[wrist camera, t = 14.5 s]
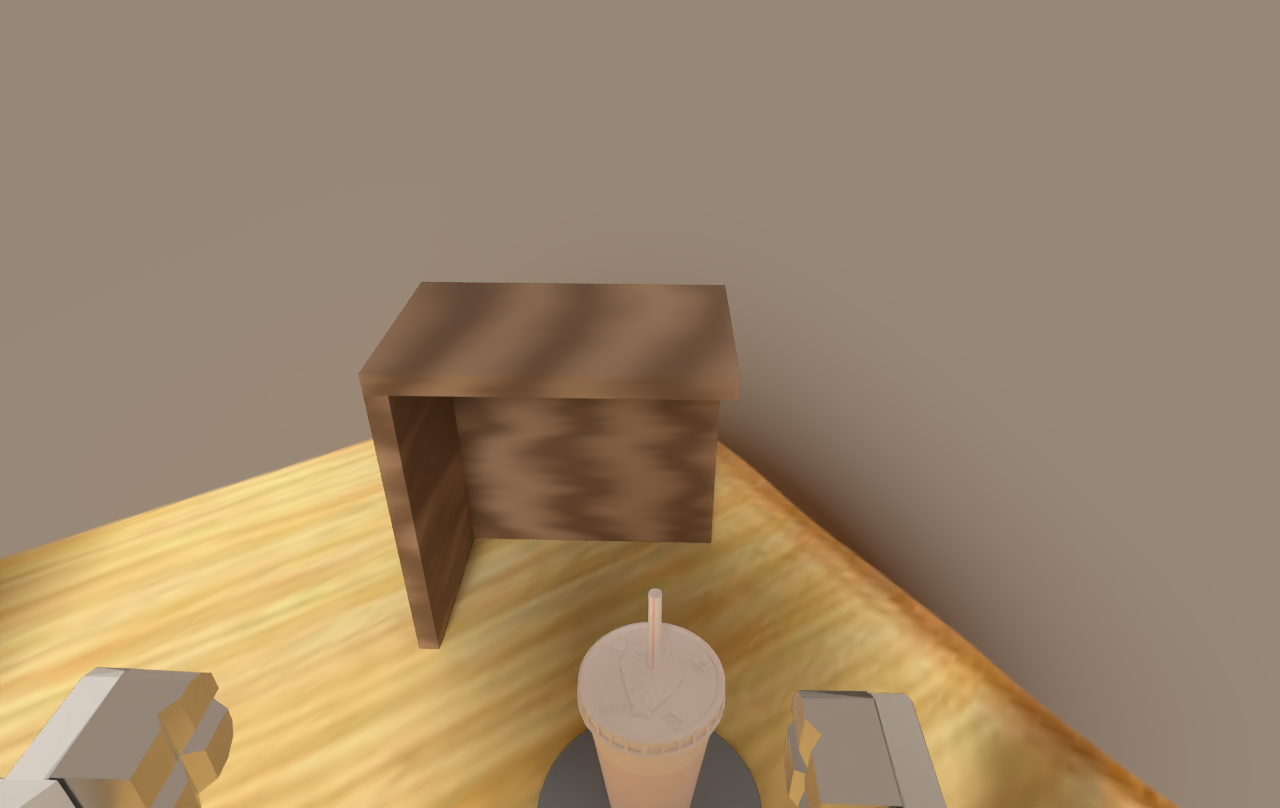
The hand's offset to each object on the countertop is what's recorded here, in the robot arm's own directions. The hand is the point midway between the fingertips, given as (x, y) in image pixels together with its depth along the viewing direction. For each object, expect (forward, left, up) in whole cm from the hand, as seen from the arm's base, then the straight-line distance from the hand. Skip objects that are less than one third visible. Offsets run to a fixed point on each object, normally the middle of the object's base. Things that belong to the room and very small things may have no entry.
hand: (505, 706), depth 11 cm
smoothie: (+2, +15, -28) cm, 31 cm away
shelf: (-3, +30, -28) cm, 41 cm away
